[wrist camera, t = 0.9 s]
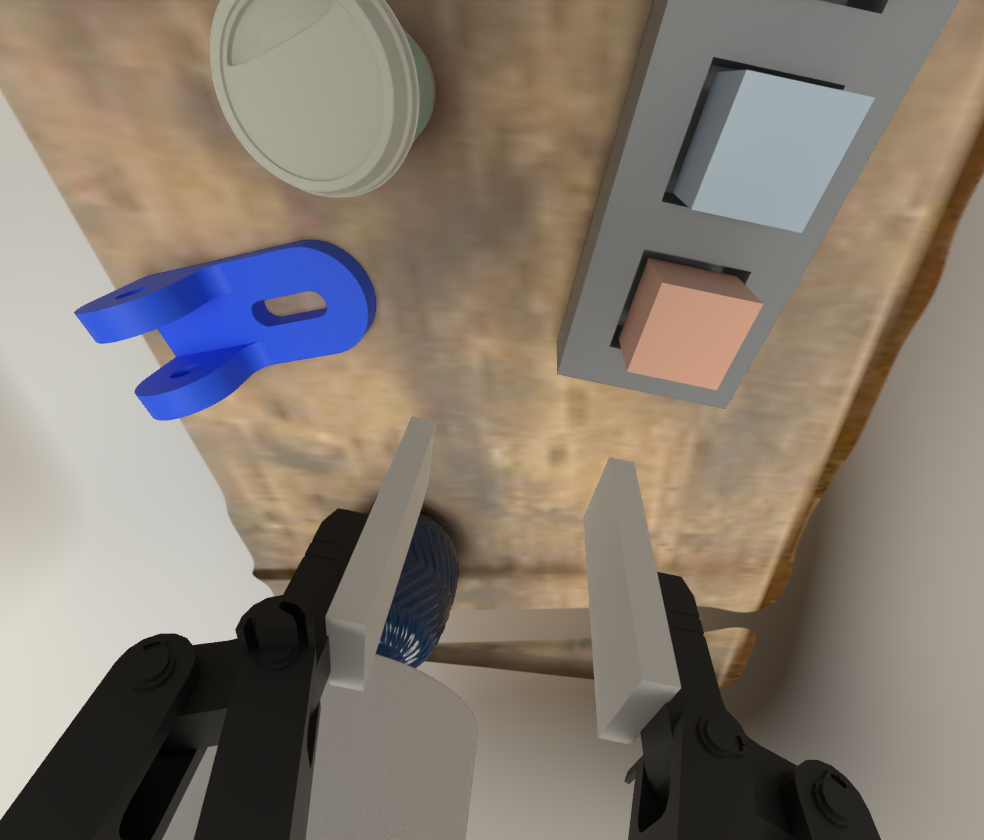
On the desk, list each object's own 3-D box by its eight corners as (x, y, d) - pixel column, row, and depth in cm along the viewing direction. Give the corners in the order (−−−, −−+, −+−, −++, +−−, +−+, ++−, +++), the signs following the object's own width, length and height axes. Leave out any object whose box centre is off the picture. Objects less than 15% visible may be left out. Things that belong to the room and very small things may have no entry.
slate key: (716, 72, 23) (746, 69, 19) (824, 95, 23) (875, 97, 19) (672, 192, 26) (691, 209, 22) (767, 212, 26) (801, 233, 22)
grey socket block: (741, -312, 19) (791, -417, 15) (1025, -247, 19) (1149, -334, 15) (557, 342, 37) (557, 374, 33) (706, 373, 37) (725, 409, 33)
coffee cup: (469, 14, 26) (419, -28, 16) (447, 181, 31) (398, 225, 21) (317, -25, 26) (174, -91, 16) (319, 150, 31) (211, 180, 21)
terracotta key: (648, 257, 28) (662, 282, 24) (737, 276, 28) (763, 304, 25) (618, 338, 31) (627, 371, 28) (698, 355, 31) (716, 390, 28)
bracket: (205, 366, 42) (131, 425, 35) (147, 275, 38) (49, 321, 30) (391, 334, 38) (352, 393, 31) (352, 228, 34) (295, 268, 26)
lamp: (539, 532, 50) (515, 1212, 20) (435, 611, 60) (316, 1133, 30) (372, 428, 44) (-19, 1161, 14) (289, 535, 54) (-36, 1085, 24)
